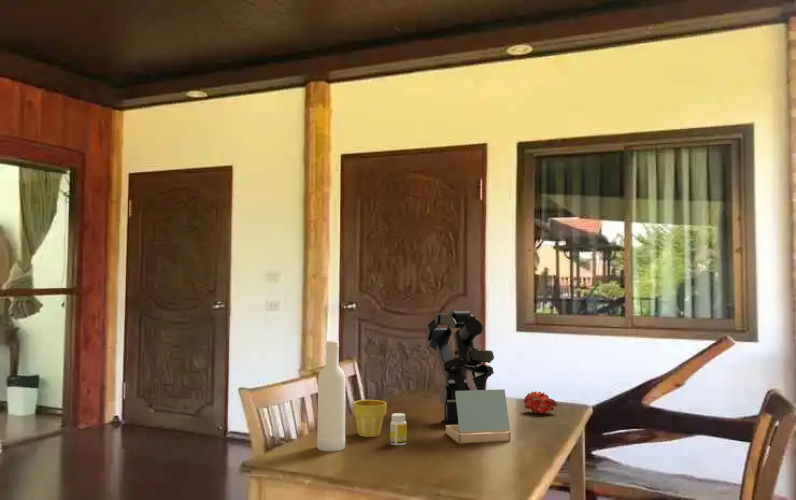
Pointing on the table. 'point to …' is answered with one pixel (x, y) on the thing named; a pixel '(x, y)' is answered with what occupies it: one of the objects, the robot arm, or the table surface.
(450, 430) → the wooden tray
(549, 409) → the dragon fruit
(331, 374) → the bottle
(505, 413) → the lid
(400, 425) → the supplement bottle
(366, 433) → the plant pot
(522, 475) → the table surface
